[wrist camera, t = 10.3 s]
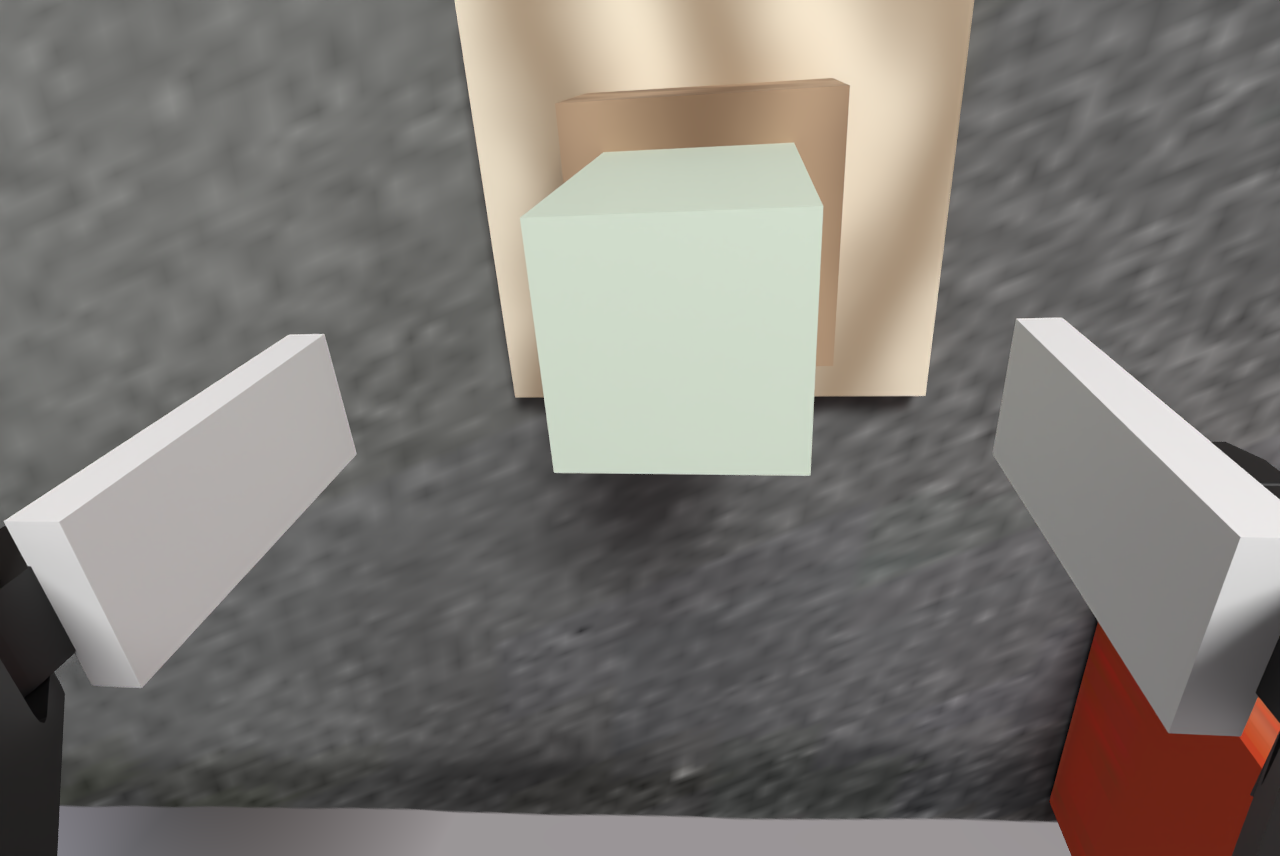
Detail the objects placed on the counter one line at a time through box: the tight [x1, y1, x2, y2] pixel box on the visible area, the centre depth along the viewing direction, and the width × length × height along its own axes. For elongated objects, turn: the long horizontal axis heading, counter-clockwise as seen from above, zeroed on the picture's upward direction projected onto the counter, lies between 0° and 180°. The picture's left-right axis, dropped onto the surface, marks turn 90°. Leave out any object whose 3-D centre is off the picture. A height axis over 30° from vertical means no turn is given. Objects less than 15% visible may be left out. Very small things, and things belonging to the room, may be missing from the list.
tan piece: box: [455, 0, 974, 397], centre depth 28 cm, size 18×16×6 cm
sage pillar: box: [520, 143, 823, 476], centre depth 20 cm, size 6×6×10 cm
